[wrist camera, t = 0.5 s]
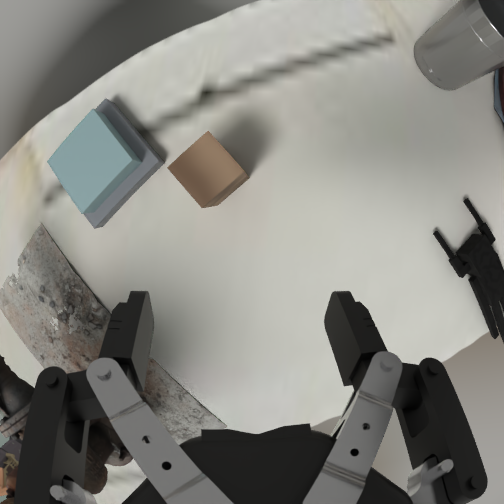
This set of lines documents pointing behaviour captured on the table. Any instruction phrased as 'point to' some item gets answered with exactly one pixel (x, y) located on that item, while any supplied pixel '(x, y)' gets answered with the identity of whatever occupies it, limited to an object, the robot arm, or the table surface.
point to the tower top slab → (93, 161)
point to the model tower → (8, 461)
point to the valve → (77, 359)
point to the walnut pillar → (208, 171)
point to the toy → (481, 271)
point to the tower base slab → (137, 177)
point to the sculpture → (499, 92)
